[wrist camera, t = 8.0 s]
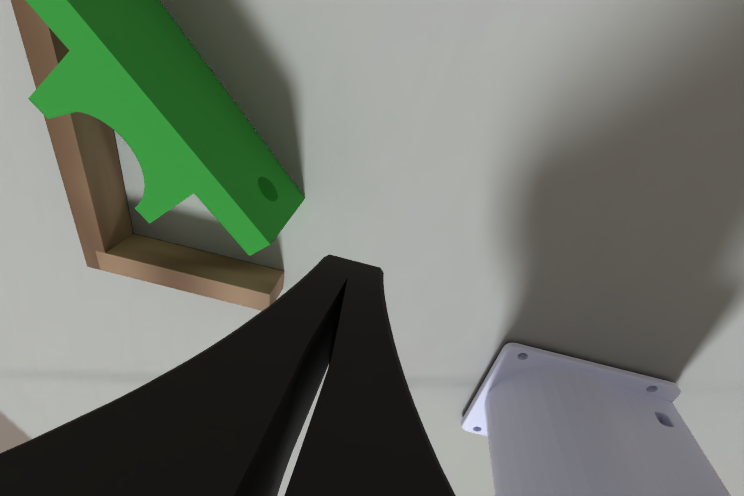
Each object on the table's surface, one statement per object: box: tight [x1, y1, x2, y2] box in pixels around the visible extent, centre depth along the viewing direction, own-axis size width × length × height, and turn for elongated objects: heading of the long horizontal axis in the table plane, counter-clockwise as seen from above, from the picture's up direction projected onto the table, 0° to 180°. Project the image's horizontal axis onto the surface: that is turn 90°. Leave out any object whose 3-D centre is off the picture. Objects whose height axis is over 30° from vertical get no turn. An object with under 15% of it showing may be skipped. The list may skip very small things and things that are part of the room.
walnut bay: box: [11, 0, 284, 311], centre depth 14 cm, size 10×19×2 cm, turn 169°
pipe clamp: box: [26, 0, 305, 256], centre depth 14 cm, size 11×4×5 cm, turn 33°
